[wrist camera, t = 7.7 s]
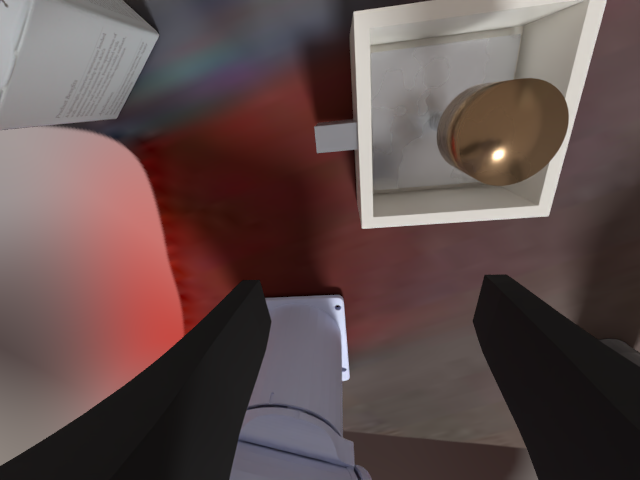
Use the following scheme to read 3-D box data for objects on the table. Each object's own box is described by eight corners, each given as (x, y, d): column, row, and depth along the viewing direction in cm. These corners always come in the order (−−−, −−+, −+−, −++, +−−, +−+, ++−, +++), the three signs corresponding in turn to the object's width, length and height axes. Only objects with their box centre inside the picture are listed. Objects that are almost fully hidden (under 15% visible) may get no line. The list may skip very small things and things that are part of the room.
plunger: (491, 178, 17) (599, 231, 10) (372, 187, 18) (395, 244, 11) (514, 36, 14) (694, -32, 7) (369, 54, 15) (398, 10, 8)
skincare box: (56, -65, 14) (-200, -216, 7) (164, 36, 15) (34, -13, 9) (20, 45, 16) (-202, 5, 9) (117, 123, 18) (-15, 136, 11)
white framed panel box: (501, 190, 18) (548, 216, 14) (327, 204, 19) (324, 231, 15) (534, 11, 14) (613, -26, 10) (312, 41, 15) (302, 18, 11)
